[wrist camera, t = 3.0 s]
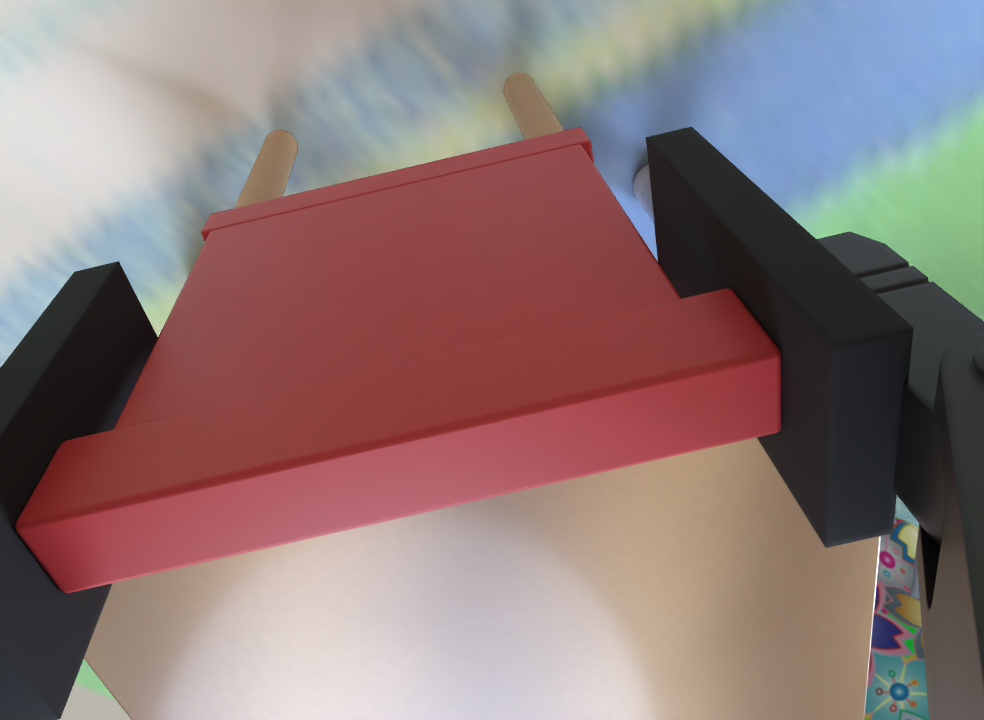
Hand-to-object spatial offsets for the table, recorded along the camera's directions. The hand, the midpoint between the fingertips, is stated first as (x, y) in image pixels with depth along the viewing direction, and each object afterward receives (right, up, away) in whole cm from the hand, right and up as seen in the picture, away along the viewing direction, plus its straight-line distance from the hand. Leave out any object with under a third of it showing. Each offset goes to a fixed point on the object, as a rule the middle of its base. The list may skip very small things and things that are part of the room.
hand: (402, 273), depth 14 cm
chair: (-1, +3, +10) cm, 11 cm away
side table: (+1, -1, +13) cm, 13 cm away
